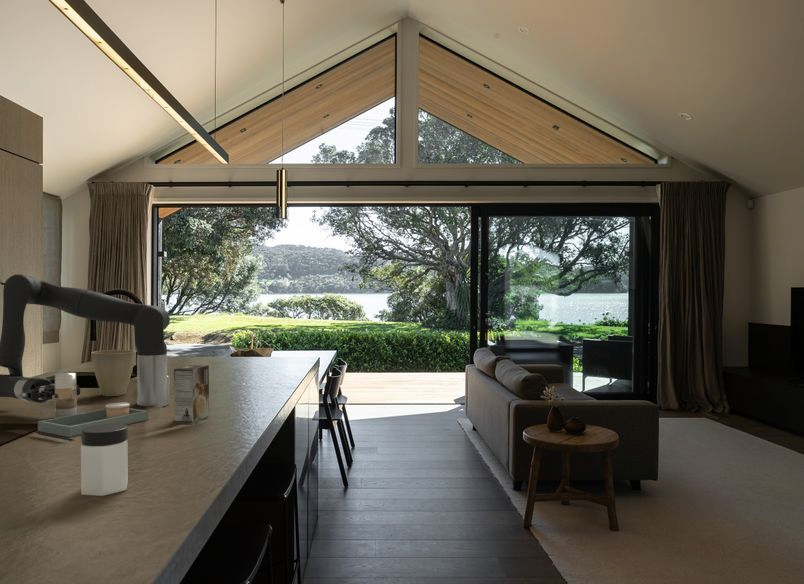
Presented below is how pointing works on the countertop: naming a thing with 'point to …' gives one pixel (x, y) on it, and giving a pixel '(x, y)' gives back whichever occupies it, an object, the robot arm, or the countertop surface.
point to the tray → (86, 422)
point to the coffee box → (191, 393)
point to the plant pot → (113, 370)
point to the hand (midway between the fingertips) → (65, 393)
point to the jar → (104, 459)
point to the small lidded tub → (117, 409)
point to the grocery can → (65, 394)
